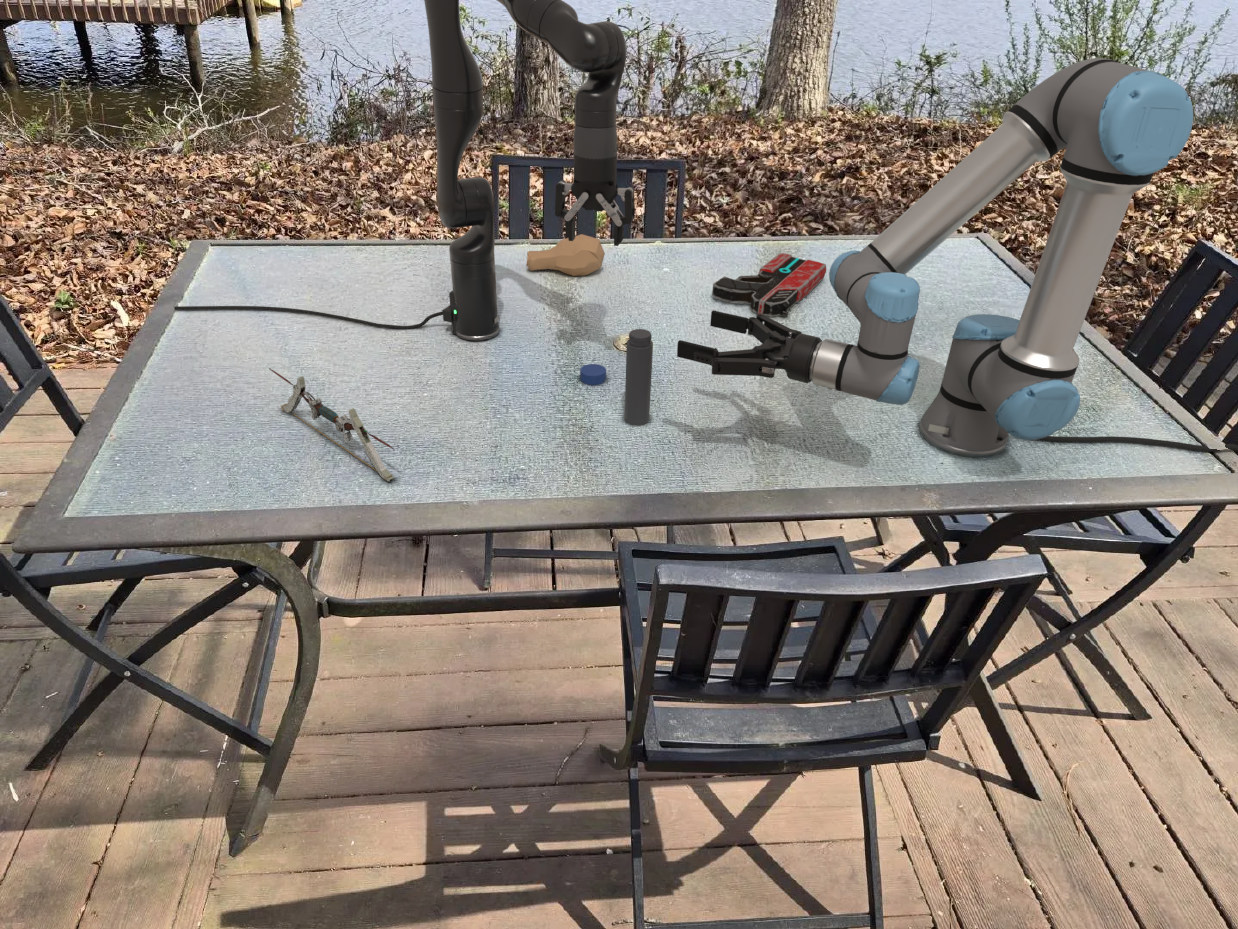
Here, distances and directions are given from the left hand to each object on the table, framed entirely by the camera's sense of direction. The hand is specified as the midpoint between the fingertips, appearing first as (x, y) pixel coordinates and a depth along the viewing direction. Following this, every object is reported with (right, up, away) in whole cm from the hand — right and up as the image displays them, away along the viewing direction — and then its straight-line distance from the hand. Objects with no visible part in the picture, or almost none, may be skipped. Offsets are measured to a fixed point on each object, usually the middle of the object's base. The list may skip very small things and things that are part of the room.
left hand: (594, 242), depth 160 cm
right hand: (+17, -18, -12) cm, 28 cm away
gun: (+42, +2, +56) cm, 70 cm away
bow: (-45, -37, -6) cm, 59 cm away
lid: (-1, -22, +15) cm, 27 cm away
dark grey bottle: (+8, -32, +3) cm, 33 cm away
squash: (-9, +9, +63) cm, 65 cm away
